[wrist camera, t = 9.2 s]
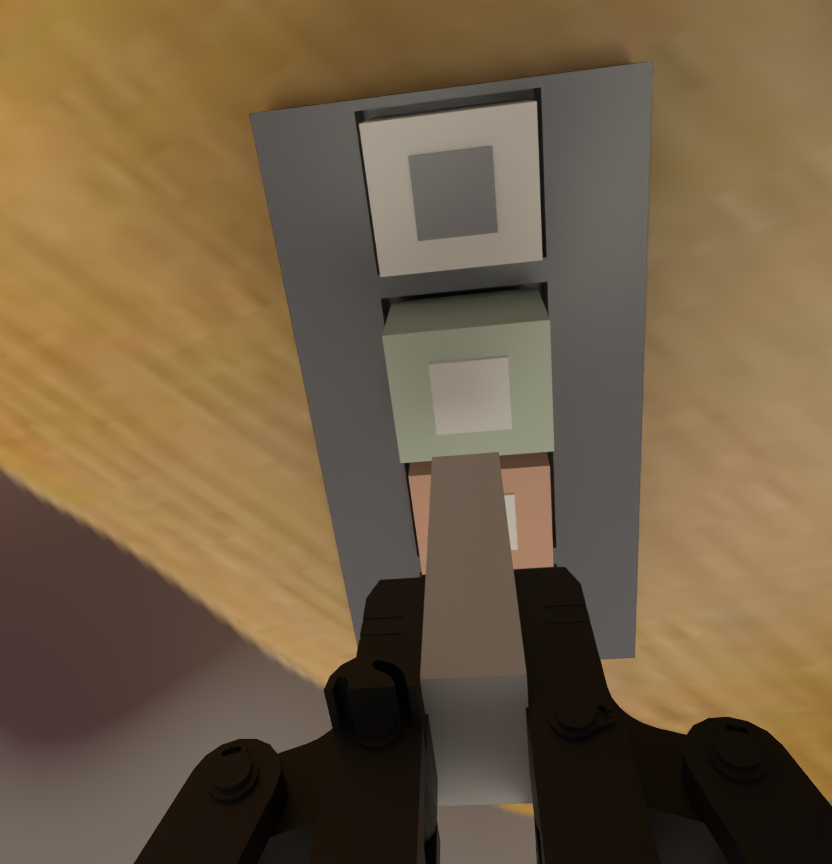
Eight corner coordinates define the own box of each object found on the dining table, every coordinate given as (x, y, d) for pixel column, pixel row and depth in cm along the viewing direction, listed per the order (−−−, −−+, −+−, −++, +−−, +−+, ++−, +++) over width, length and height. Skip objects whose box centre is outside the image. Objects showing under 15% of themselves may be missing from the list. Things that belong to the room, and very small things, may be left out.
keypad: (269, 110, 24) (249, 113, 21) (632, 63, 22) (652, 61, 20) (368, 630, 34) (362, 670, 31) (621, 616, 33) (634, 657, 30)
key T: (413, 431, 28) (408, 478, 25) (538, 420, 28) (550, 467, 24) (425, 522, 30) (422, 577, 27) (543, 513, 30) (554, 569, 26)
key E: (372, 117, 23) (358, 124, 20) (525, 98, 22) (537, 101, 19) (390, 251, 25) (379, 278, 22) (530, 236, 24) (543, 261, 21)
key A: (391, 301, 24) (381, 337, 21) (537, 287, 24) (550, 321, 20) (407, 416, 26) (400, 465, 23) (541, 404, 26) (554, 453, 22)
